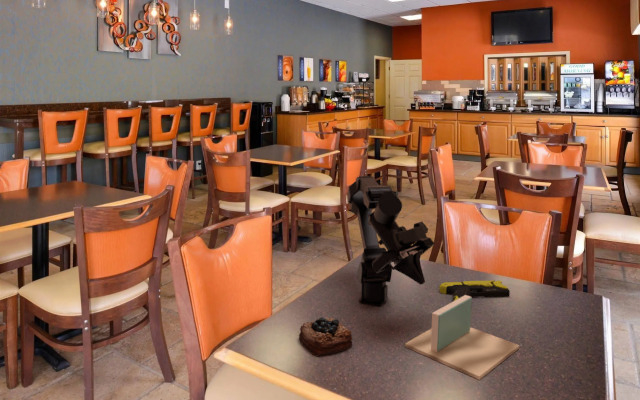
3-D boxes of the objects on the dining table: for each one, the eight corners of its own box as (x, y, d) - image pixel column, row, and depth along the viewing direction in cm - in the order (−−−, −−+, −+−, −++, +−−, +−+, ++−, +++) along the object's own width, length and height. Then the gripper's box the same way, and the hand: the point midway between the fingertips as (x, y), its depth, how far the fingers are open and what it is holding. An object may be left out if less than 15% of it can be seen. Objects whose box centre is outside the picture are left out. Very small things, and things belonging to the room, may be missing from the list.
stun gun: (522, 300, 136) (500, 279, 151) (452, 301, 135) (437, 280, 150) (521, 310, 137) (500, 288, 151) (451, 311, 136) (437, 289, 151)
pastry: (316, 360, 112) (316, 336, 111) (293, 337, 123) (293, 315, 121) (358, 348, 117) (358, 325, 116) (332, 327, 128) (332, 306, 126)
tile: (430, 349, 114) (432, 313, 112) (463, 328, 124) (465, 295, 122) (437, 352, 113) (439, 315, 111) (470, 331, 122) (472, 297, 120)
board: (405, 346, 117) (405, 343, 117) (447, 321, 129) (447, 318, 129) (479, 379, 104) (479, 376, 104) (519, 348, 116) (519, 345, 116)
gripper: (382, 220, 115) (420, 277, 110) (429, 206, 128) (465, 257, 123) (356, 245, 123) (391, 300, 117) (403, 229, 135) (437, 279, 130)
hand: (423, 283), depth 122 cm, fingers closed
